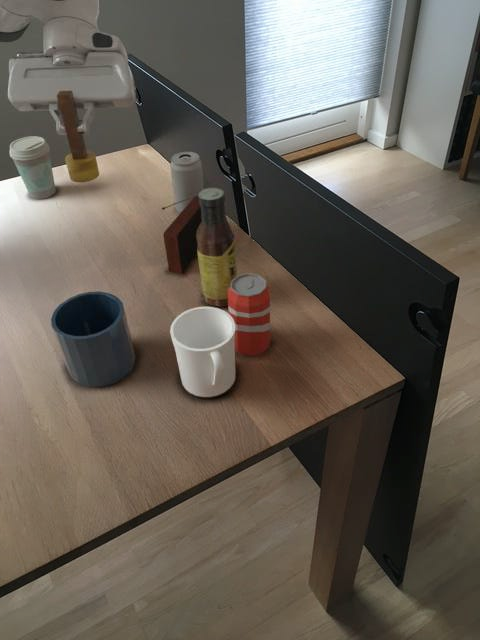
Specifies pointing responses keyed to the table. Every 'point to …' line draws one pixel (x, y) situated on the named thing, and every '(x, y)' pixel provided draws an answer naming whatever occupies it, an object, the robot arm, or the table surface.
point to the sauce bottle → (215, 248)
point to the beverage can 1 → (186, 177)
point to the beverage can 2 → (250, 313)
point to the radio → (183, 236)
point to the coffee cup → (34, 165)
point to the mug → (205, 351)
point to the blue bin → (94, 338)
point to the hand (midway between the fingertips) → (73, 133)
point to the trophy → (76, 142)
